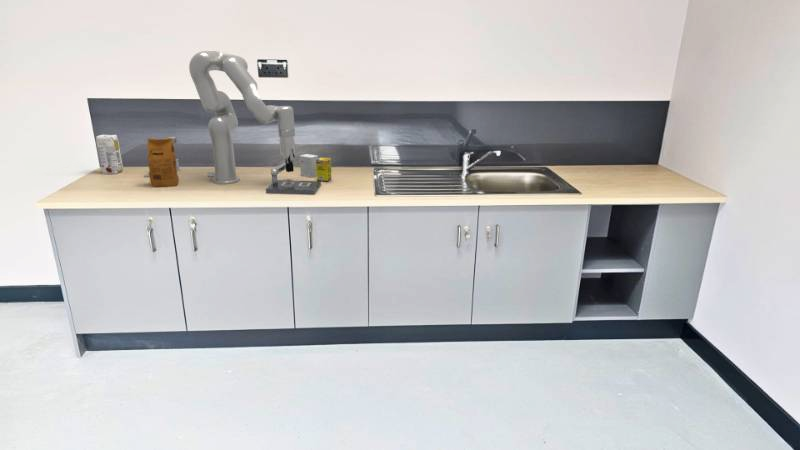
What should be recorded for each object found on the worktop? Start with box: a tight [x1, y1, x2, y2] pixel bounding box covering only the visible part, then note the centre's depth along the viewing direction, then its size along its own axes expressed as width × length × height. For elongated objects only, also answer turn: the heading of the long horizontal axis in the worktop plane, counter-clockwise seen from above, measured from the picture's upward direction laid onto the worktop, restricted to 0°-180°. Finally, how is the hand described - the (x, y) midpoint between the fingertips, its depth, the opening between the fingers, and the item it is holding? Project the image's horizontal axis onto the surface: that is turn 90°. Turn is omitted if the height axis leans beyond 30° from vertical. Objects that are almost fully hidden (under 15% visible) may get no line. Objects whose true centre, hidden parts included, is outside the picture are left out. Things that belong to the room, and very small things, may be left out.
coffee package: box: [147, 137, 180, 188], centre depth 232 cm, size 10×12×22 cm
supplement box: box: [316, 157, 332, 183], centre depth 247 cm, size 6×6×11 cm
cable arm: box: [270, 161, 286, 176], centre depth 238 cm, size 20×3×2 cm, turn 170°
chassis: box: [265, 175, 322, 196], centre depth 232 cm, size 22×16×6 cm
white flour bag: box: [95, 134, 124, 175], centre depth 251 cm, size 8×9×19 cm
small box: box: [299, 153, 319, 179], centre depth 255 cm, size 8×6×10 cm
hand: (289, 171), depth 240 cm, fingers closed
